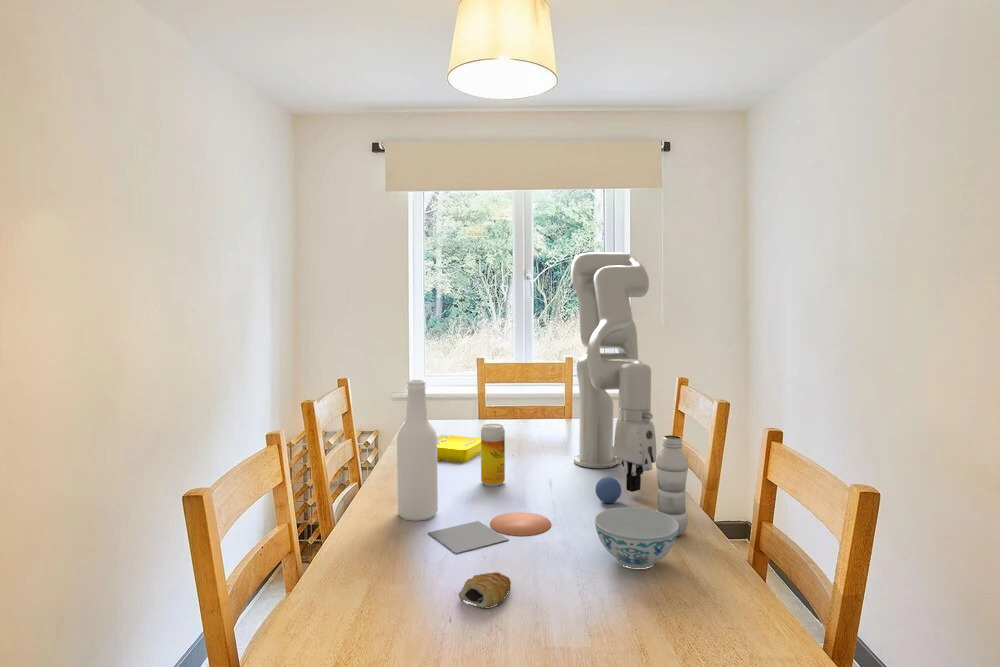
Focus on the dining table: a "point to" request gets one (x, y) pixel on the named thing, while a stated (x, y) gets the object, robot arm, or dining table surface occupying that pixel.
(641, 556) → the chinaware
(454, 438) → the element tile
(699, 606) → the dining table surface
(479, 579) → the pastry
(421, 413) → the alcohol
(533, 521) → the orange disc
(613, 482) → the ball
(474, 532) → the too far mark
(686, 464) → the plastic bottle
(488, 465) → the beer can
